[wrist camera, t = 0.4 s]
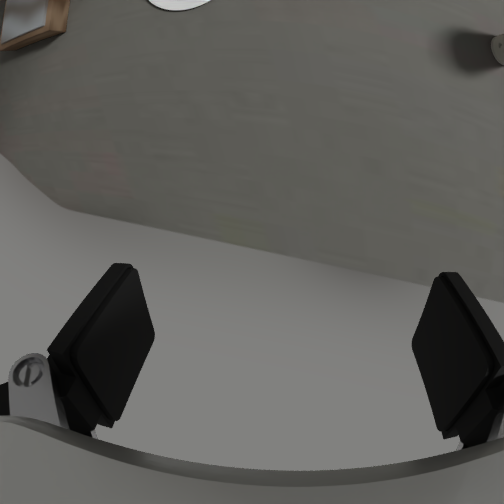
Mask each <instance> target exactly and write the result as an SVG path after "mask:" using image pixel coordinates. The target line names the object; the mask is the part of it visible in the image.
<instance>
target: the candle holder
mask: <svg viewBox="0 0 504 504" xmlns="http://www.w3.org/2000/svg"><path fill="white" fill-rule="evenodd" d="M149 1H150V2H151V3H152V4H154V5H155V6H157V7H160V8H162V9H166V10H186V9H191V8H195V7H198V6H200V5H203V4H205V3H207V2H208V1H210V0H149Z"/></svg>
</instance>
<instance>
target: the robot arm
mask: <svg viewBox="0 0 504 504" xmlns="http://www.w3.org/2000/svg"><path fill="white" fill-rule="evenodd" d="M154 337H155V332H154V328H153V325H152V321H151V318H150V315H149V312H148V308H147V304H146V300H145V297H144V293H143V290H142V286H141V282H140V278H139V274H138V271H137V270H136V269H134V268H133V266H132V265H131V264H124V263H114V264H113V265H111V267H110V268H109V269H108V270H107V272H106V273H105V274H104V275H103V276H102V278H101V279H100V280H99V281H98V282H97V284H96V285H95V286H94V287H93V289H92V290H91V291H90V293H89V294H88V295H87V296H86V298H85V299H84V300H83V301H82V303H81V304H80V305H79V307H78V308H77V309H76V311H75V312H74V313H73V315H72V316H71V317H70V318H69V320H68V321H67V323H66V324H65V325H64V327H63V328H62V329H61V331H60V332H59V333H58V335H57V336H56V338H55V339H54V340H53V342H52V343H51V345H50V346H49V347H48V349H47V351H48V352H49V354H50V355H49V356H48V358H47V359H46V358H45V357H44V356H43V355H41V354H38V353H32V354H28V355H25V356H23V357H21V358H20V359H19V360H17V361H16V362H15V364H14V365H13V366H12V368H11V370H10V372H9V379H8V382H6V383H4V384H1V385H0V504H504V342H503V340H502V338H501V337H500V335H499V333H498V332H497V330H496V329H495V327H494V325H493V323H492V322H491V320H490V319H489V317H488V316H487V314H486V313H485V311H484V309H483V308H482V306H481V305H480V303H479V302H478V300H477V299H476V297H475V296H474V294H473V293H472V292H471V290H470V289H469V287H468V286H467V284H466V283H465V282H464V280H463V279H462V277H461V276H460V275H459V274H458V273H457V272H442V273H440V274H439V276H438V277H436V278H435V279H434V281H433V284H432V287H431V290H430V293H429V296H428V299H427V302H426V305H425V308H424V311H423V313H422V316H421V318H420V321H419V324H418V326H417V329H416V331H415V334H414V336H413V339H412V350H413V353H414V355H415V358H416V361H417V364H418V367H419V370H420V373H421V376H422V379H423V382H424V385H425V388H426V392H427V395H428V398H429V402H430V405H431V408H432V412H433V415H434V419H435V423H436V426H437V429H438V430H439V431H442V435H443V439H447V438H451V437H455V436H458V435H459V437H460V442H459V445H458V447H457V449H456V451H454V452H450V453H446V454H442V455H438V456H433V457H428V458H424V459H419V460H413V461H408V462H402V463H397V464H389V465H382V466H374V467H365V468H354V469H341V470H320V471H278V470H258V469H244V468H233V467H224V466H216V465H208V464H201V463H195V462H189V461H183V460H178V459H173V458H167V457H163V456H158V455H154V454H149V453H145V452H141V451H137V450H133V449H129V448H125V447H122V446H119V445H115V444H112V443H108V442H105V441H102V440H98V438H97V435H96V433H95V430H94V429H95V427H96V425H97V424H99V425H102V426H106V427H109V428H112V427H113V424H114V422H115V421H118V420H119V419H120V417H121V415H122V412H123V410H124V408H125V406H126V403H127V401H128V398H129V396H130V394H131V391H132V389H133V387H134V384H135V382H136V380H137V378H138V375H139V373H140V371H141V368H142V366H143V364H144V361H145V359H146V357H147V355H148V353H149V351H150V348H151V346H152V344H153V341H154Z"/></svg>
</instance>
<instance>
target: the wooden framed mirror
mask: <svg viewBox="0 0 504 504" xmlns="http://www.w3.org/2000/svg"><path fill="white" fill-rule="evenodd" d="M69 4H70V0H6V4H5V10H4V16H3V22H2V30H1V38H0V51H10V50H17V49H20V48H22V47H25V46H27V45H30V44H32V43H35V42H38V41H40V40H43V39H46V38H49V37H52V36H55V35H58V34H61V33H64V32H66V27H67V18H68V10H69Z"/></svg>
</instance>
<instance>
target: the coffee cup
mask: <svg viewBox="0 0 504 504" xmlns="http://www.w3.org/2000/svg"><path fill="white" fill-rule="evenodd" d="M491 50H492V53H493V55H494V57H495V59H496V60H497V61H498V62H499V63H500V64H502V65H504V34H501V35H498V36H495V37H494V38H493V39H492V41H491Z"/></svg>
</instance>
